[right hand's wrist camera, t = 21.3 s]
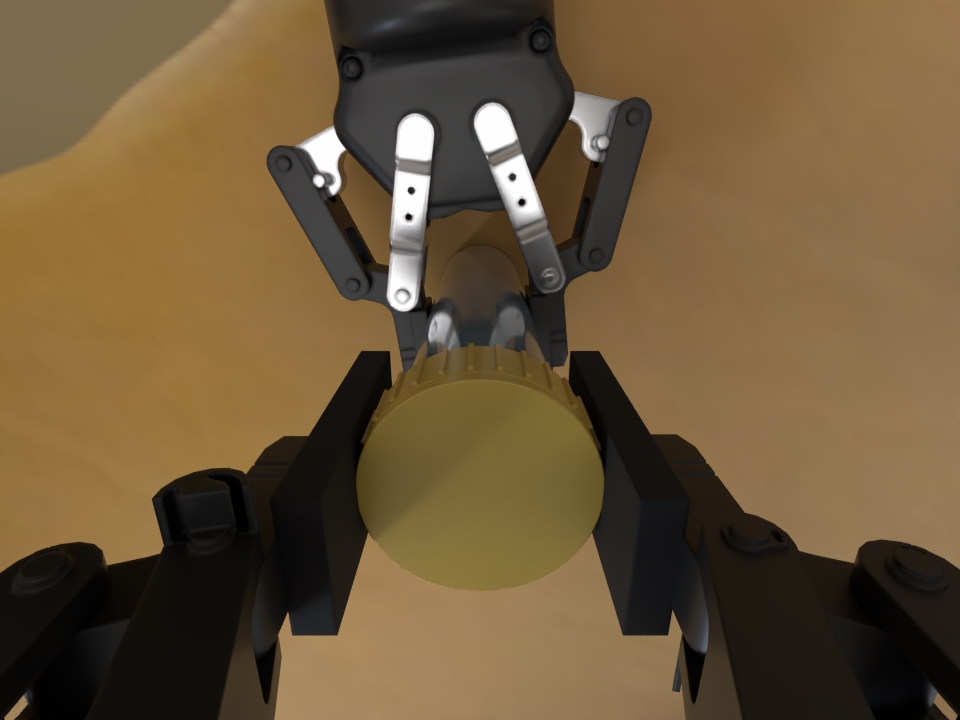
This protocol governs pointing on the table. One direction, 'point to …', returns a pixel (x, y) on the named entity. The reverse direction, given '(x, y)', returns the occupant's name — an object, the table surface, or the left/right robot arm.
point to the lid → (480, 470)
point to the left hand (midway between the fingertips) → (488, 379)
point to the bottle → (480, 306)
